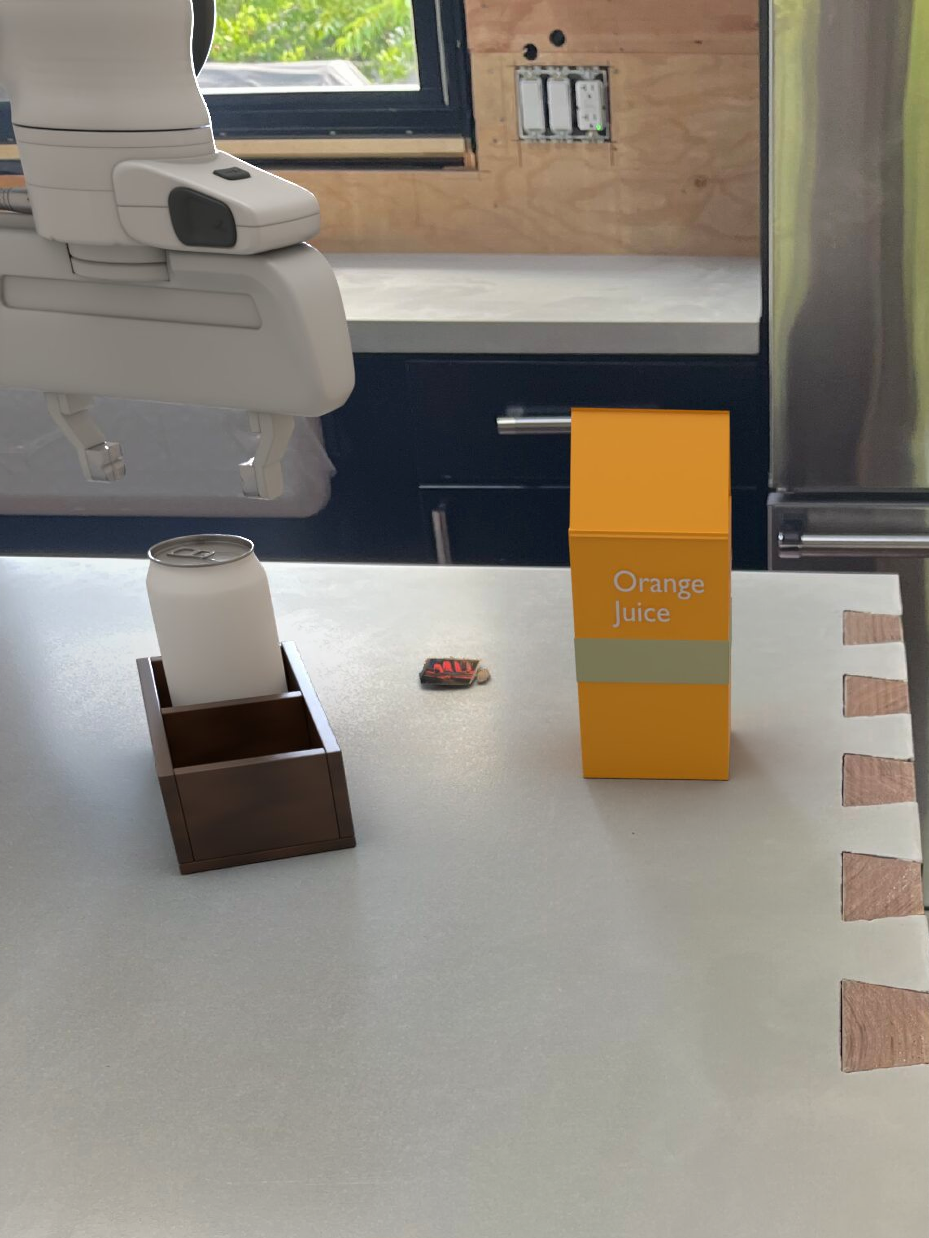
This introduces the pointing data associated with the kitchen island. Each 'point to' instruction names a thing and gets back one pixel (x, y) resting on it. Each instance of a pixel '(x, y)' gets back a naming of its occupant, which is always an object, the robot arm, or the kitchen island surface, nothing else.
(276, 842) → the holder
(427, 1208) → the kitchen island surface
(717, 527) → the orange juice
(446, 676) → the matchbox
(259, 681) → the can
